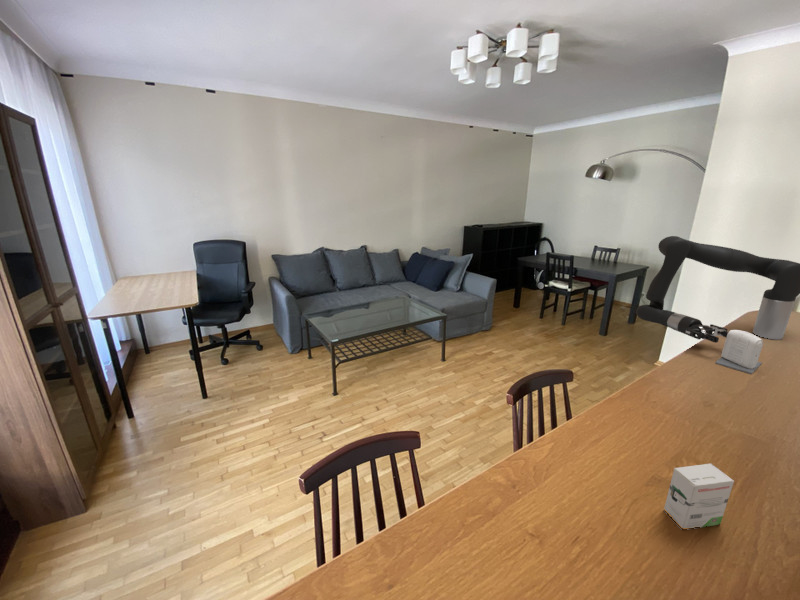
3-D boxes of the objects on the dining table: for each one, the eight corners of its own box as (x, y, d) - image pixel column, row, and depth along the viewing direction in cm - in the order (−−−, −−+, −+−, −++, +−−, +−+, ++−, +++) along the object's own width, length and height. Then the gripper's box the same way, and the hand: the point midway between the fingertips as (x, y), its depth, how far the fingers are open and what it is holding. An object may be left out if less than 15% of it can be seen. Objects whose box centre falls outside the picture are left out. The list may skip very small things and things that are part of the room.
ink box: (698, 504, 72) (711, 461, 69) (722, 526, 68) (736, 480, 64) (661, 509, 72) (672, 466, 68) (682, 531, 67) (695, 486, 63)
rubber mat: (725, 354, 133) (726, 353, 133) (761, 364, 125) (761, 362, 125) (714, 363, 127) (715, 362, 127) (751, 374, 119) (751, 372, 119)
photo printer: (758, 368, 121) (768, 337, 118) (748, 369, 121) (757, 338, 117) (727, 355, 131) (735, 326, 127) (718, 356, 130) (726, 327, 127)
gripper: (672, 318, 141) (714, 332, 126) (698, 313, 144) (743, 327, 129) (668, 334, 143) (709, 350, 128) (695, 329, 146) (738, 345, 131)
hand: (726, 338), depth 129 cm, fingers open, 8 cm apart
